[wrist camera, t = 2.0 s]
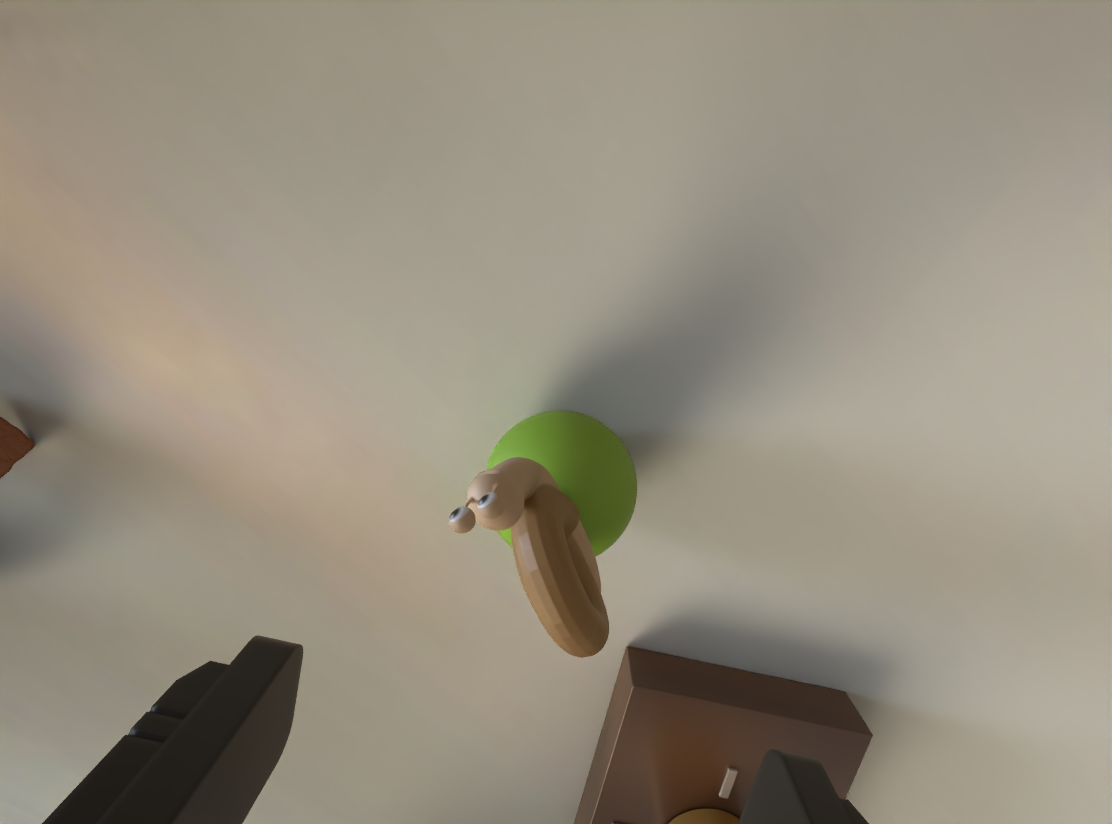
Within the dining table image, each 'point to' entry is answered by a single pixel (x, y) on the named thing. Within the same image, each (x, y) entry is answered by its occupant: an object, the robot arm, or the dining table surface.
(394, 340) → the dining table surface
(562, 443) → the snail figurine
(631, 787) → the dial panel
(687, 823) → the dial
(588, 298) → the dining table surface
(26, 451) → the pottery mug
